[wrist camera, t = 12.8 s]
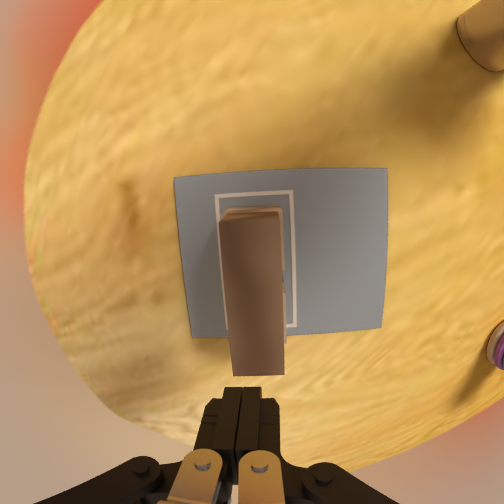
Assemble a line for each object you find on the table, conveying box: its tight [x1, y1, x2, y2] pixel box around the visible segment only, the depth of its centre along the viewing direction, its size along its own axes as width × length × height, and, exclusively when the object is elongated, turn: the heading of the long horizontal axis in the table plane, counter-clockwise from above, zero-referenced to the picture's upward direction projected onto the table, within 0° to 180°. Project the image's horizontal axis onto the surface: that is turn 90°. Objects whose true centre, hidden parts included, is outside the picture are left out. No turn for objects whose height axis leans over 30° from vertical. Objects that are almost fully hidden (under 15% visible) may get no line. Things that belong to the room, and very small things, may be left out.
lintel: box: [218, 211, 284, 376], centre depth 24 cm, size 4×12×5 cm, turn 3°
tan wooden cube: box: [221, 205, 285, 271], centre depth 29 cm, size 5×5×6 cm
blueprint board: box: [174, 168, 388, 338], centre depth 32 cm, size 22×18×1 cm
